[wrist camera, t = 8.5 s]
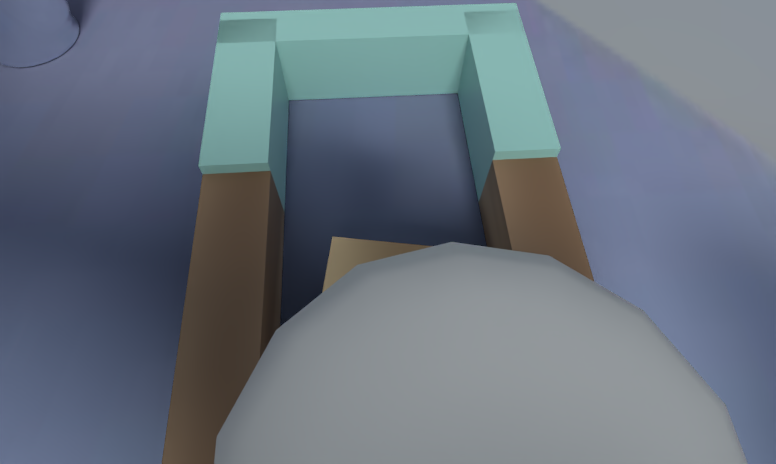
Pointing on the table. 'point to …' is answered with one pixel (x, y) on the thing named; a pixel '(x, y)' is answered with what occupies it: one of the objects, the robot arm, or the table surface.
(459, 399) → the salt shaker
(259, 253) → the slot
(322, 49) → the teal u-shaped block
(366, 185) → the table surface
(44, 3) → the cup with straw
